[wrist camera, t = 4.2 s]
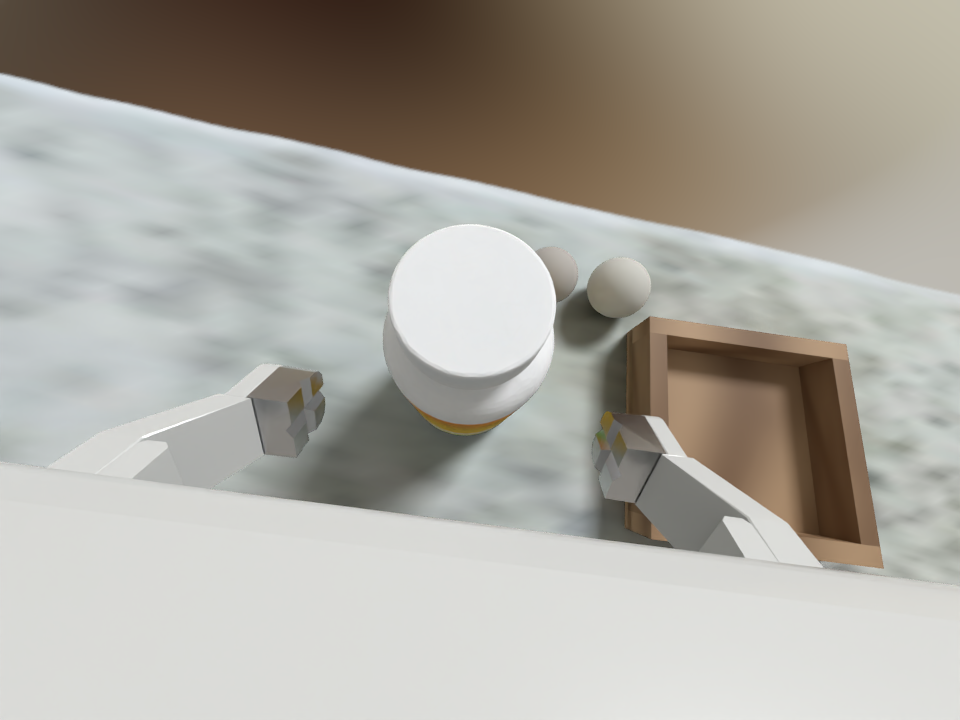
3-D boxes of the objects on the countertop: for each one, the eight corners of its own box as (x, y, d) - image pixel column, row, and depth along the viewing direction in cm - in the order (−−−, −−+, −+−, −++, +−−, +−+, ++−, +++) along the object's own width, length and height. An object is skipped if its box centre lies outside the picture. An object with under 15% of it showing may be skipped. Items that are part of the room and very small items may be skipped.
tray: (624, 527, 16) (651, 539, 14) (626, 332, 19) (649, 316, 16) (825, 553, 16) (883, 568, 14) (800, 357, 19) (846, 344, 17)
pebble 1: (515, 308, 19) (524, 283, 16) (520, 262, 19) (530, 230, 17) (566, 315, 19) (585, 292, 16) (569, 269, 19) (587, 239, 17)
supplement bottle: (532, 418, 17) (623, 374, 8) (425, 450, 16) (383, 443, 7) (500, 319, 18) (544, 179, 9) (399, 345, 18) (335, 221, 8)
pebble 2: (577, 322, 19) (599, 297, 16) (580, 272, 19) (601, 240, 17) (632, 330, 19) (664, 307, 16) (632, 280, 20) (663, 249, 17)
